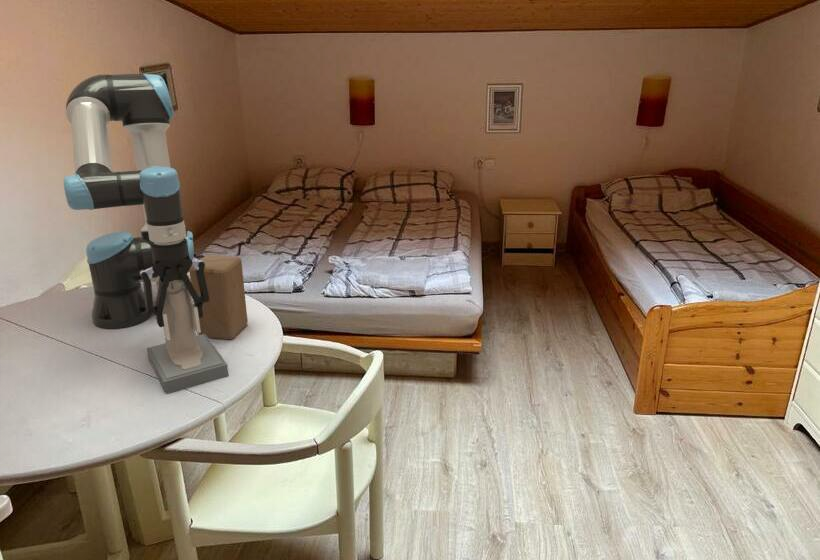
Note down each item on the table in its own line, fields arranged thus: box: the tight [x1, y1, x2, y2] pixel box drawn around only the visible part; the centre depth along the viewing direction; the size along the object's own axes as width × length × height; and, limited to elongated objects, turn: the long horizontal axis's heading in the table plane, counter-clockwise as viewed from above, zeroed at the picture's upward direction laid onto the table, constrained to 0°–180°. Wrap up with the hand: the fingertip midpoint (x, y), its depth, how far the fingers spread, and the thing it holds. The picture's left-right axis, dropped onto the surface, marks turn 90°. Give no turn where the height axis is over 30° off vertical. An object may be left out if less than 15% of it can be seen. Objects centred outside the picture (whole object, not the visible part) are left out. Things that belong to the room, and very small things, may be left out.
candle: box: [155, 276, 203, 369], centre depth 135 cm, size 7×14×20 cm, turn 32°
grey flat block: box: [146, 334, 229, 394], centre depth 139 cm, size 18×14×3 cm
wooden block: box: [188, 254, 249, 340], centre depth 153 cm, size 10×10×20 cm
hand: (182, 333), depth 136 cm, fingers open, 6 cm apart
